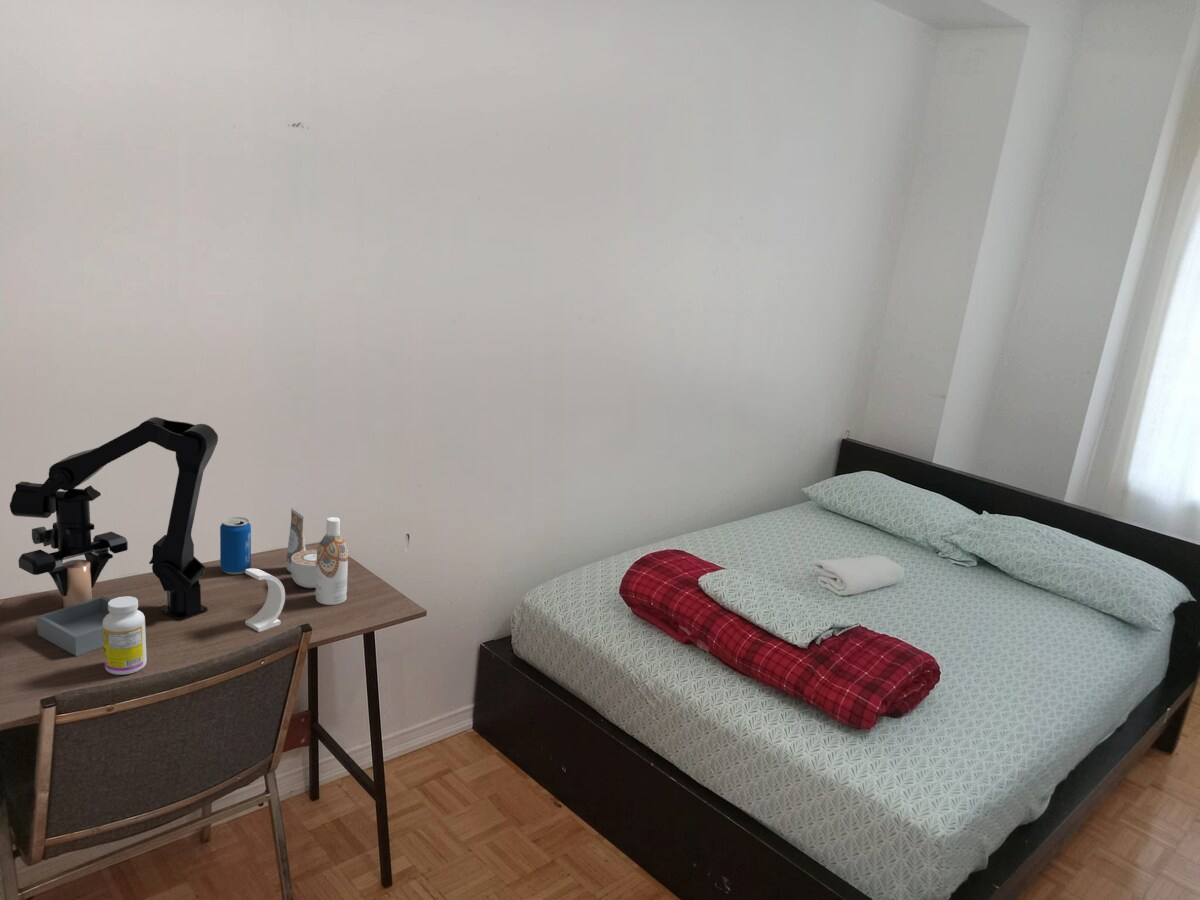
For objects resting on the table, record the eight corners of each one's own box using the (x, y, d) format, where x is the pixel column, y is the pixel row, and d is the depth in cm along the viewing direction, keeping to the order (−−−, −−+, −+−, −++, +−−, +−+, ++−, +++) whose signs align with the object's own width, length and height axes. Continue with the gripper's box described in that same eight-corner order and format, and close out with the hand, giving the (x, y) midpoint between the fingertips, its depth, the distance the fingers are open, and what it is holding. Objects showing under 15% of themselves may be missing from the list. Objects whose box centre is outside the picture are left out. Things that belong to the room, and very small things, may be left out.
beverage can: (240, 577, 198) (240, 527, 195) (214, 572, 199) (213, 523, 196) (256, 567, 204) (256, 519, 201) (231, 563, 205) (231, 514, 202)
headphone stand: (245, 624, 177) (245, 569, 174) (271, 615, 182) (271, 561, 179) (258, 632, 175) (259, 576, 172) (285, 622, 180) (285, 568, 177)
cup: (97, 605, 179) (95, 564, 177) (72, 613, 175) (70, 571, 172) (83, 598, 181) (81, 557, 179) (58, 605, 177) (55, 564, 175)
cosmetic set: (271, 569, 205) (271, 492, 200) (309, 561, 211) (310, 487, 206) (317, 609, 187) (319, 527, 182) (357, 600, 193) (360, 520, 188)
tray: (142, 632, 170) (141, 614, 169) (76, 656, 159) (75, 637, 158) (103, 613, 176) (102, 595, 175) (38, 634, 165) (36, 616, 164)
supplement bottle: (114, 657, 160) (112, 592, 157) (152, 658, 161) (150, 594, 158) (97, 675, 154) (94, 608, 151) (137, 677, 155) (134, 610, 151)
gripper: (96, 499, 185) (99, 567, 189) (0, 520, 169) (6, 594, 173) (128, 512, 180) (130, 582, 184) (32, 534, 164) (37, 611, 168)
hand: (77, 591), depth 177 cm, fingers closed on cup, 5 cm apart
